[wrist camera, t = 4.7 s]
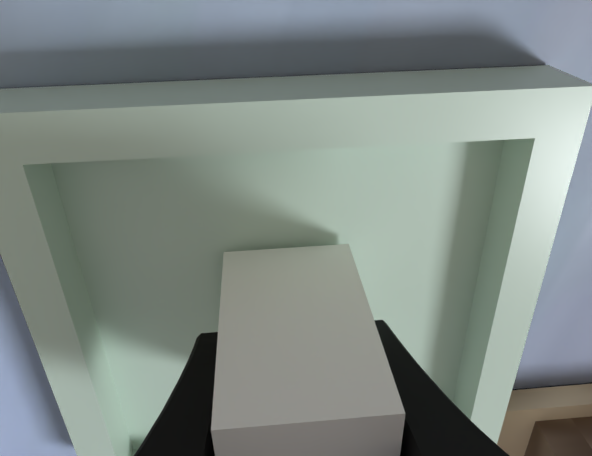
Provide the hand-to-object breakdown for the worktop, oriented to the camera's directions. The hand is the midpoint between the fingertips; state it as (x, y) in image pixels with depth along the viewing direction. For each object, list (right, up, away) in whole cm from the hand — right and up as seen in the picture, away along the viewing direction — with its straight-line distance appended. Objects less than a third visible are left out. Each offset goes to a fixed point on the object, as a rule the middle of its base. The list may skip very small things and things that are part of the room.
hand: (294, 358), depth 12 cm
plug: (0, +1, +1) cm, 1 cm away
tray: (0, +1, +2) cm, 2 cm away
